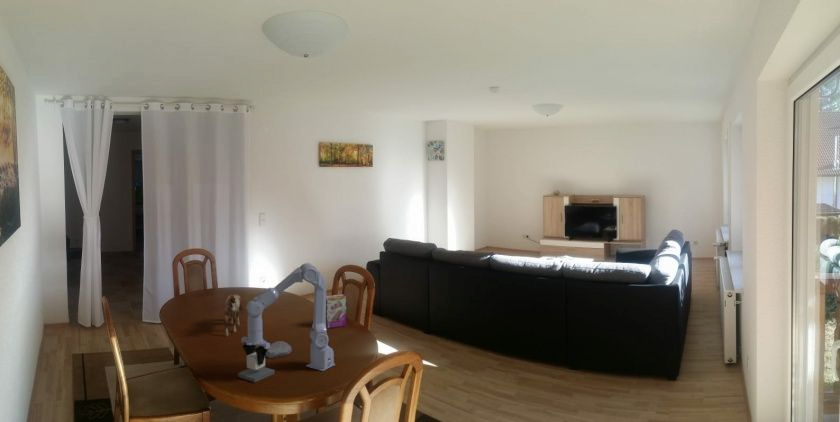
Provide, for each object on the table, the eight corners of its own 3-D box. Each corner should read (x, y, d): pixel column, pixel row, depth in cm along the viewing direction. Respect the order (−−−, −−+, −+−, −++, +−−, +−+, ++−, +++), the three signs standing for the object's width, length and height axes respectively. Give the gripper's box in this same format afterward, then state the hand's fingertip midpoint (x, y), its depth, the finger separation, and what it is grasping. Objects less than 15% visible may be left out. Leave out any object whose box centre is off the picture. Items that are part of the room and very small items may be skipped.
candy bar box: (326, 329, 267) (326, 298, 265) (323, 326, 271) (323, 296, 270) (346, 326, 273) (346, 295, 271) (343, 323, 277) (343, 293, 275)
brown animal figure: (236, 338, 253) (235, 297, 251) (220, 339, 251) (218, 298, 249) (246, 319, 283) (245, 282, 281) (231, 320, 282) (230, 283, 280)
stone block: (293, 356, 235) (280, 347, 241) (294, 346, 234) (281, 337, 240) (272, 365, 226) (258, 355, 232) (272, 355, 225) (259, 345, 231)
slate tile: (274, 373, 211) (274, 370, 211) (255, 382, 203) (255, 378, 202) (257, 368, 216) (257, 365, 216) (238, 376, 208) (237, 373, 208)
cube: (265, 365, 210) (264, 354, 209) (255, 370, 206) (255, 358, 205) (256, 363, 212) (256, 351, 212) (247, 367, 208) (246, 355, 208)
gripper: (234, 329, 208) (235, 362, 209) (259, 335, 200) (260, 369, 202) (248, 324, 214) (249, 356, 215) (273, 330, 206) (274, 363, 208)
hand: (255, 362), depth 209 cm, fingers closed on cube, 5 cm apart
